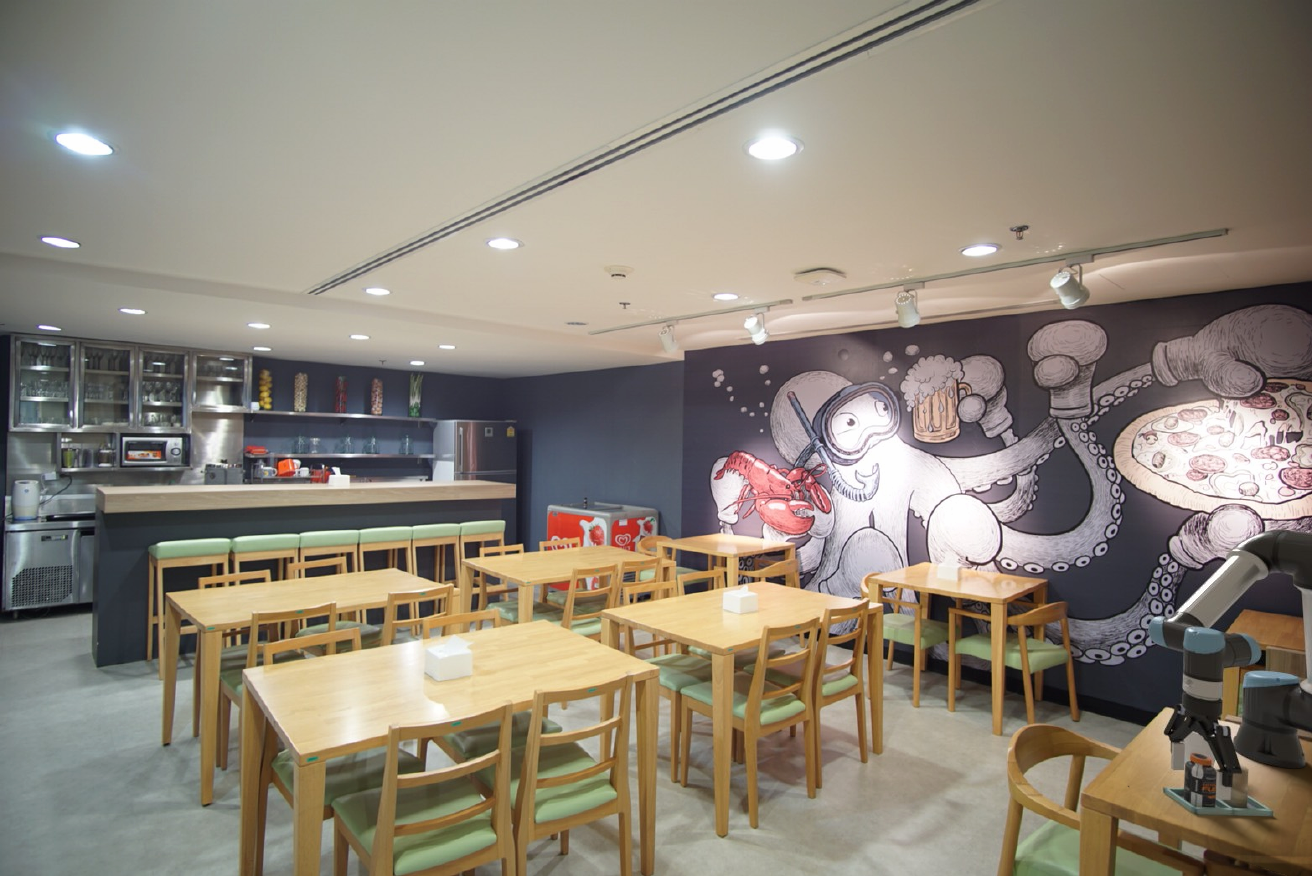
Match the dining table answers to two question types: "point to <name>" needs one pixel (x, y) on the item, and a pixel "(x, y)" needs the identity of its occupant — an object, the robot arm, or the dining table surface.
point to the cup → (1197, 747)
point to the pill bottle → (1200, 781)
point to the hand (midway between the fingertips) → (1199, 783)
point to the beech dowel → (1239, 790)
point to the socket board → (1219, 805)
